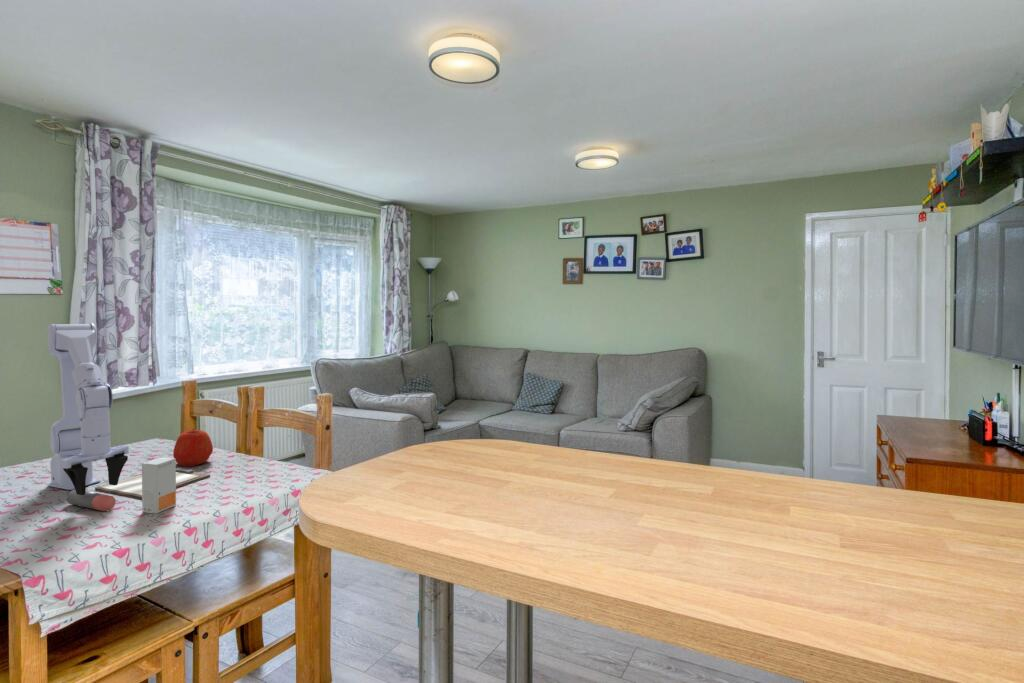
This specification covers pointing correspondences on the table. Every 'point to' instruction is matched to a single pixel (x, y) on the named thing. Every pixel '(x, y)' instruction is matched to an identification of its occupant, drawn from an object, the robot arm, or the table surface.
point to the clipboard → (134, 484)
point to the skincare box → (158, 485)
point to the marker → (91, 500)
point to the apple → (192, 448)
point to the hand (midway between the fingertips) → (97, 489)
